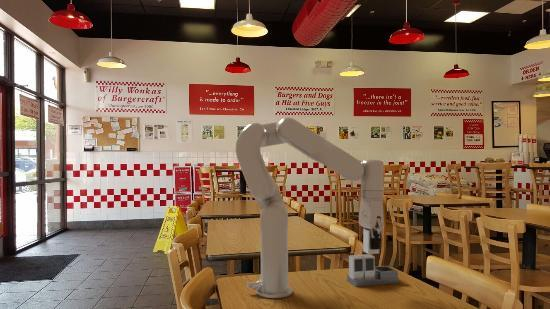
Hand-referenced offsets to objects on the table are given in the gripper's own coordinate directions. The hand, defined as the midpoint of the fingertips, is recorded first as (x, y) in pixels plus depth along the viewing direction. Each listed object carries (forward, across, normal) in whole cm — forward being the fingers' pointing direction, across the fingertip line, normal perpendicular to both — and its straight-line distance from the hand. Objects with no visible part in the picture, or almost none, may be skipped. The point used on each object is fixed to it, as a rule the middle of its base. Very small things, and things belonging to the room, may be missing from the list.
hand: (371, 247), depth 141 cm
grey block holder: (+16, -11, +6) cm, 20 cm away
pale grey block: (+2, 0, 0) cm, 2 cm away
